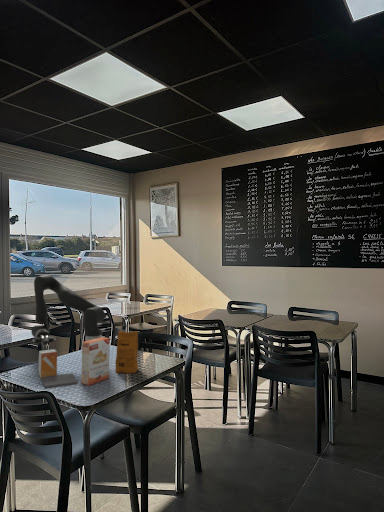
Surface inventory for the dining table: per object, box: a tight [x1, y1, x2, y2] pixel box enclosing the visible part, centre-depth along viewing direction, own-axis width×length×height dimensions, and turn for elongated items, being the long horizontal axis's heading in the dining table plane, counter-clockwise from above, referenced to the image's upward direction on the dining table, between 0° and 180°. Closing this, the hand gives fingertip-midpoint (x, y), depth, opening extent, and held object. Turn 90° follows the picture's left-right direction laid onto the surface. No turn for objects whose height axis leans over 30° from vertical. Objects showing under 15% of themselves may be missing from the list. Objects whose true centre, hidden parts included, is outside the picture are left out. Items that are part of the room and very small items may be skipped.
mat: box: [41, 372, 78, 389], centre depth 184 cm, size 15×14×1 cm
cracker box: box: [80, 336, 111, 386], centre depth 185 cm, size 14×6×21 cm, turn 148°
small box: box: [38, 348, 58, 379], centre depth 192 cm, size 8×6×13 cm
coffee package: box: [115, 330, 139, 374], centre depth 201 cm, size 10×12×22 cm
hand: (45, 342), depth 201 cm, fingers closed
